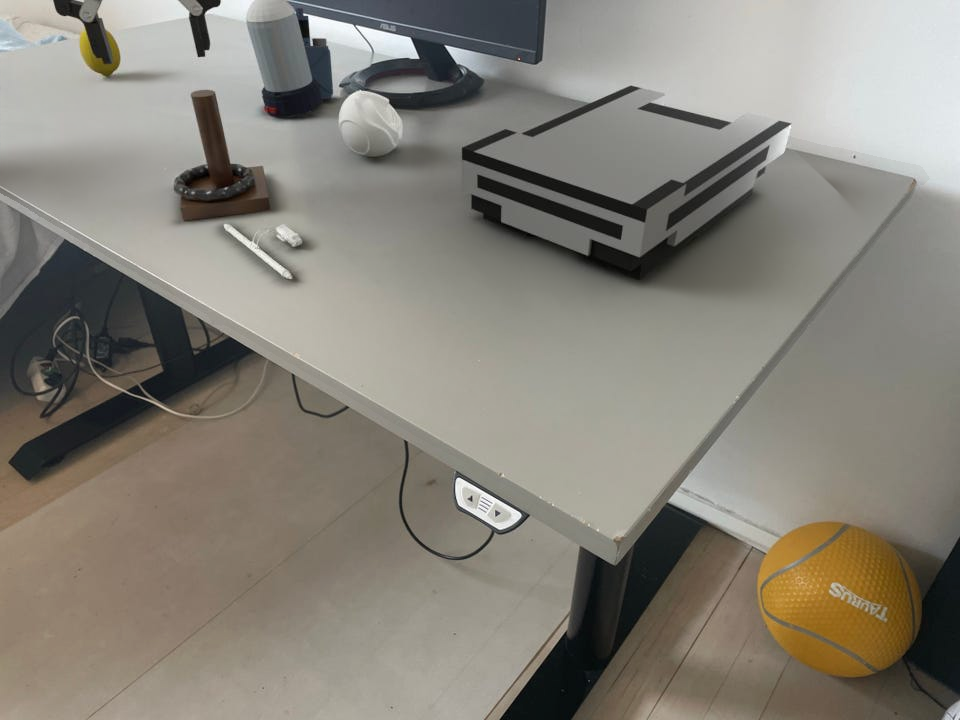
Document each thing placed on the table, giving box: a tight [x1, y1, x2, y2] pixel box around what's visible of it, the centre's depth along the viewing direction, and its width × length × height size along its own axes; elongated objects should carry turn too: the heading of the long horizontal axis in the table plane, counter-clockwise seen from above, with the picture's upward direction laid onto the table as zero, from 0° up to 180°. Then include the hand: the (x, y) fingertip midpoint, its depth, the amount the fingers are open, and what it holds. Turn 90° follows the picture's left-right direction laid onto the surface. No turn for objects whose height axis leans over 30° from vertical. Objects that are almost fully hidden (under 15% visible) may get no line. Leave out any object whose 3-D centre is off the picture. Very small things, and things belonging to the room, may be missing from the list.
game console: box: [461, 85, 793, 281], centre depth 77 cm, size 21×32×8 cm, turn 139°
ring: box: [173, 162, 255, 202], centre depth 78 cm, size 8×8×1 cm
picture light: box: [223, 223, 303, 280], centre depth 70 cm, size 14×4×2 cm, turn 41°
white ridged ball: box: [338, 90, 403, 158], centre depth 88 cm, size 8×8×8 cm
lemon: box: [78, 28, 121, 78], centre depth 113 cm, size 6×6×8 cm
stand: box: [179, 89, 272, 222], centre depth 76 cm, size 9×9×12 cm
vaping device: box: [294, 7, 334, 100], centre depth 103 cm, size 3×5×12 cm, turn 120°
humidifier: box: [245, 0, 324, 118], centre depth 95 cm, size 8×8×25 cm
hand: (155, 58), depth 70 cm, fingers open, 8 cm apart
